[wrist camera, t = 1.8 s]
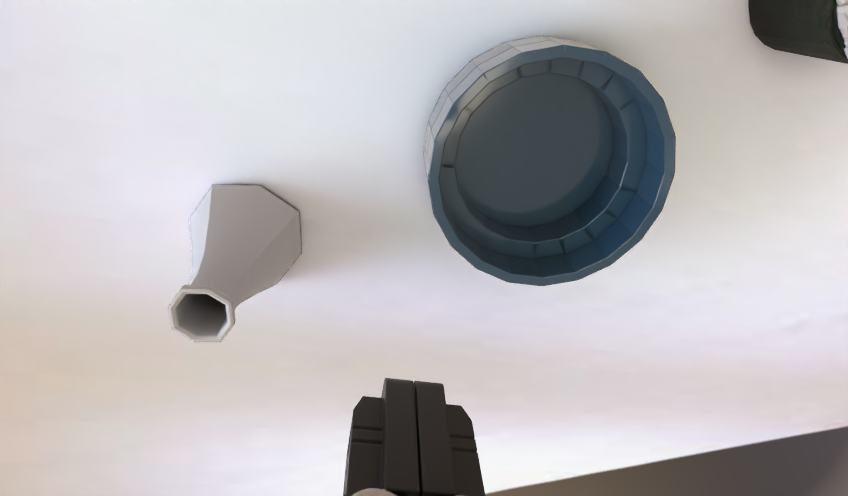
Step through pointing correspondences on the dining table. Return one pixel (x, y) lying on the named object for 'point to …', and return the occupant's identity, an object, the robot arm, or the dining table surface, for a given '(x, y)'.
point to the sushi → (803, 26)
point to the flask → (233, 257)
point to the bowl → (547, 160)
